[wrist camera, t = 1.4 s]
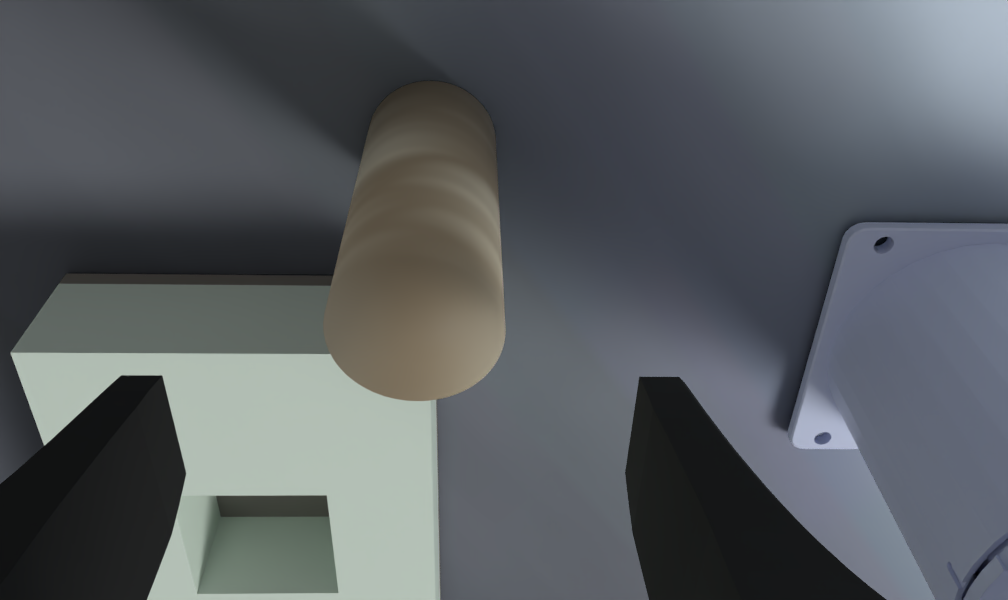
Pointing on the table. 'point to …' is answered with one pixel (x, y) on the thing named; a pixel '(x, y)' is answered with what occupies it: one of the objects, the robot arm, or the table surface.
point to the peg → (421, 250)
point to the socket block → (252, 434)
